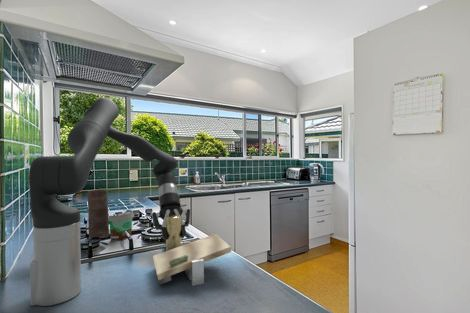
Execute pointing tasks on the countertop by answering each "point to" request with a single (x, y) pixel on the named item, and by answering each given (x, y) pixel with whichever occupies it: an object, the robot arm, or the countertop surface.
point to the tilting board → (188, 256)
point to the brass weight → (173, 231)
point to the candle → (98, 213)
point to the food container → (120, 225)
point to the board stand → (195, 270)
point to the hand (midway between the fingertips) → (174, 237)
